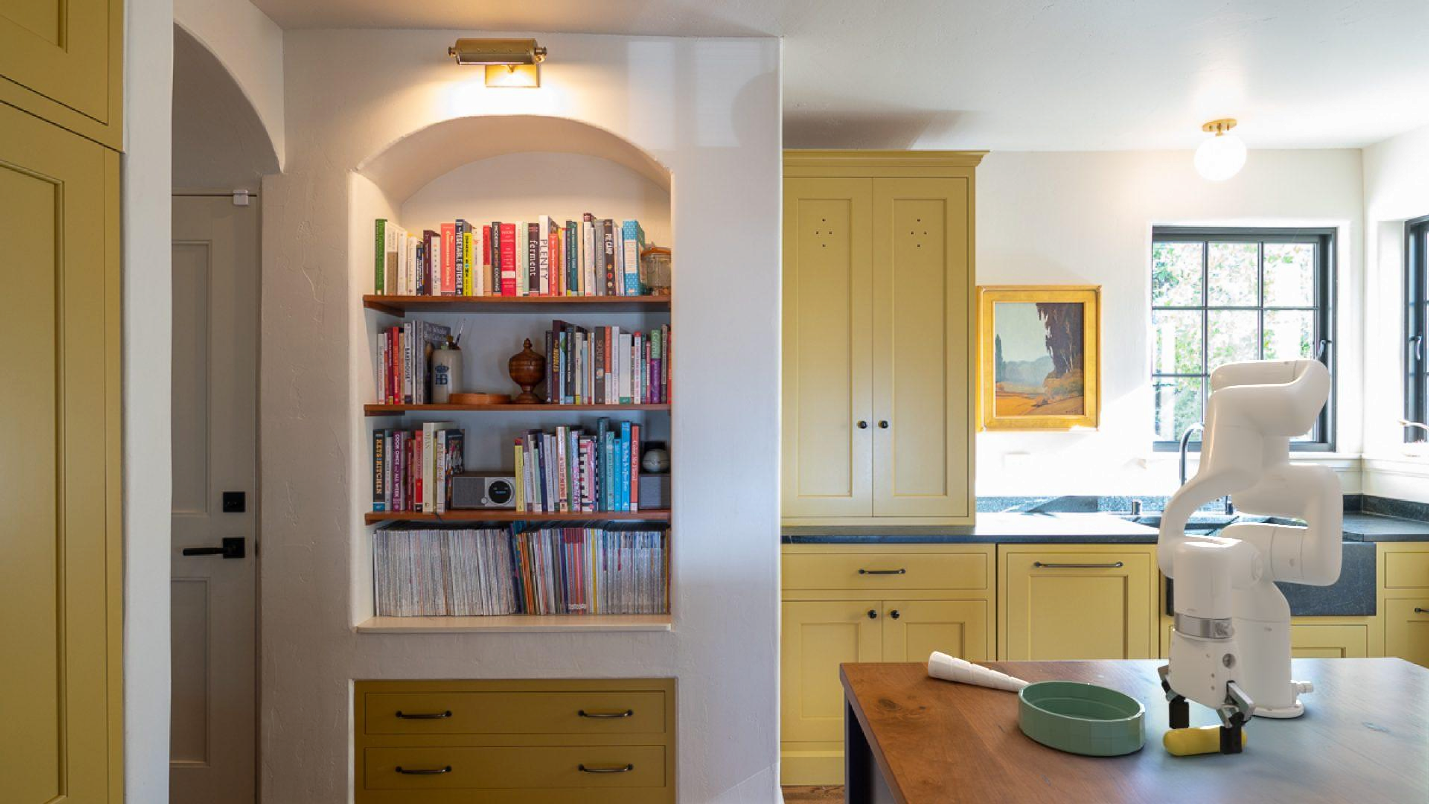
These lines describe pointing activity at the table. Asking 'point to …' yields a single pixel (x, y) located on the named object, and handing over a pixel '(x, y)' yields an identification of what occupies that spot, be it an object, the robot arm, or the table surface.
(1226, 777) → the table surface
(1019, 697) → the green round dish
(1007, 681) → the unicorn horn
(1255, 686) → the robot arm
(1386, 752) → the table surface
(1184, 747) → the yellow rounded capsule
